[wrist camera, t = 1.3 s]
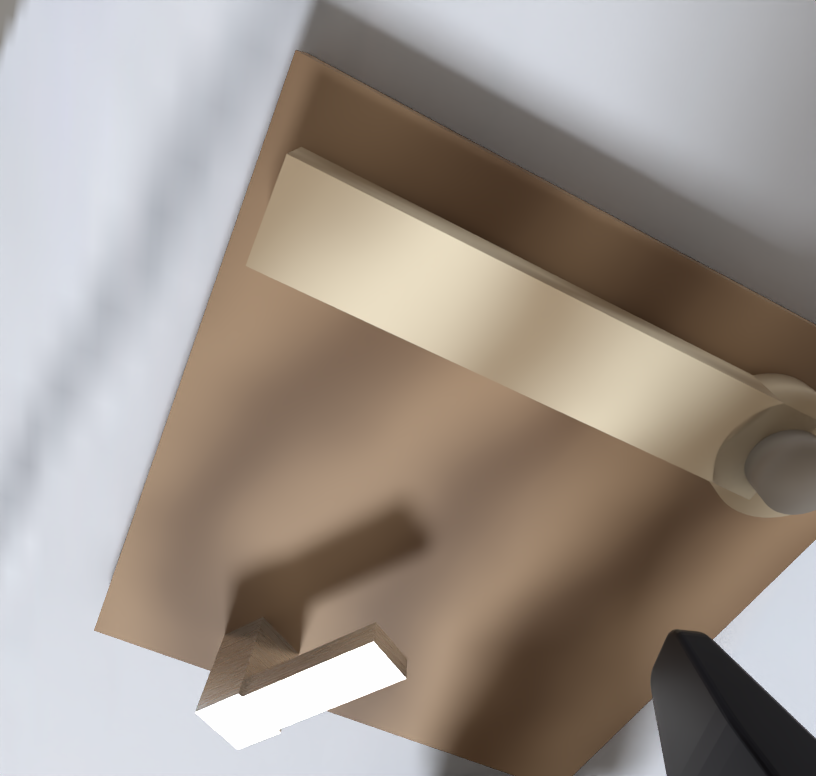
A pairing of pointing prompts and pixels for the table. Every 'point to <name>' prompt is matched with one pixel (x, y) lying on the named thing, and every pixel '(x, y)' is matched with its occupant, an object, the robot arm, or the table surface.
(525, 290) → the link
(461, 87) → the table surface
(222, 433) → the board
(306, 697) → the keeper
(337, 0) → the table surface
